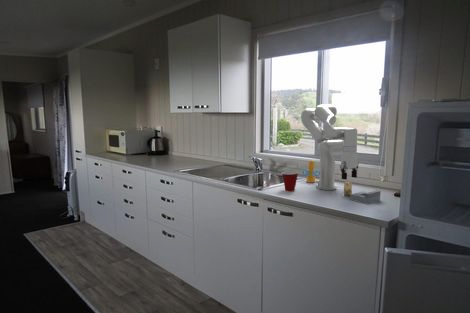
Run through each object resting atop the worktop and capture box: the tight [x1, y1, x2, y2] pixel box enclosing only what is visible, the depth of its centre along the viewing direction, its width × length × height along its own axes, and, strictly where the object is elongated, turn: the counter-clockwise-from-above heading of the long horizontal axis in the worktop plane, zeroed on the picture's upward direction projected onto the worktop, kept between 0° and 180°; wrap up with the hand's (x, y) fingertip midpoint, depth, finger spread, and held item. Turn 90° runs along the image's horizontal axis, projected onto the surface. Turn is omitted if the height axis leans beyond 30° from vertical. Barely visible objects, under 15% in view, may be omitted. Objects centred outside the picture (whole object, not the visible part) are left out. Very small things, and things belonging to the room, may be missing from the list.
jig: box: [350, 189, 381, 204], centre depth 184 cm, size 11×12×5 cm
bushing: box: [343, 181, 353, 198], centre depth 193 cm, size 4×4×8 cm
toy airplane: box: [302, 160, 320, 183], centre depth 233 cm, size 12×10×15 cm
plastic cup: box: [281, 171, 299, 192], centre depth 206 cm, size 11×11×12 cm
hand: (349, 178), depth 191 cm, fingers open, 9 cm apart
